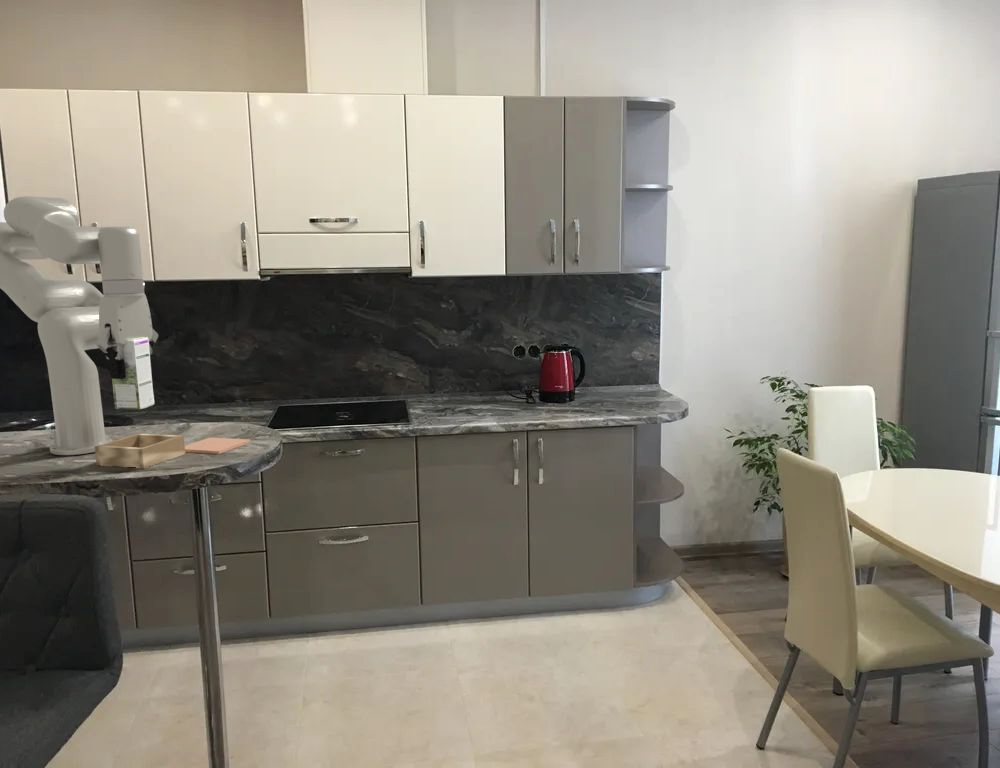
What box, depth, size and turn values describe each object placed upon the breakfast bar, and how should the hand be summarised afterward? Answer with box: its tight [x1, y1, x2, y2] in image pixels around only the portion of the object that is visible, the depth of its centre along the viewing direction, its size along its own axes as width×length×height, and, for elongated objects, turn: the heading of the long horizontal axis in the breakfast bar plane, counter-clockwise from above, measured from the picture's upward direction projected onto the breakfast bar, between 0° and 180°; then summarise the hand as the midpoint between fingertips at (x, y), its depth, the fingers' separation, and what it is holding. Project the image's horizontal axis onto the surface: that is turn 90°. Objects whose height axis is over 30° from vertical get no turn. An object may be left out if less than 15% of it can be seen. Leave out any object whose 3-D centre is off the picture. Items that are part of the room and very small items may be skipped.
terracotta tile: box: [184, 437, 251, 455], centre depth 171 cm, size 11×11×1 cm
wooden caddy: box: [94, 433, 186, 469], centre depth 161 cm, size 12×12×4 cm
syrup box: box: [108, 337, 155, 410], centre depth 158 cm, size 6×6×14 cm
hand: (131, 375), depth 158 cm, fingers closed on syrup box, 6 cm apart
